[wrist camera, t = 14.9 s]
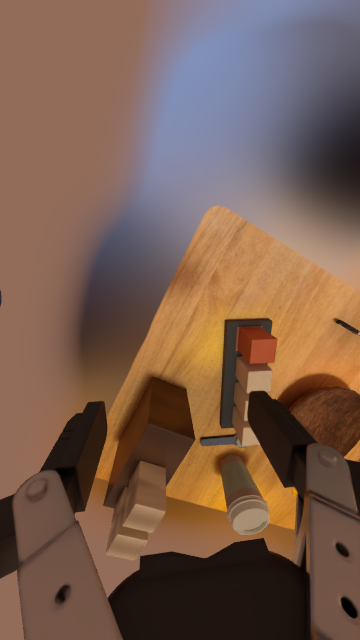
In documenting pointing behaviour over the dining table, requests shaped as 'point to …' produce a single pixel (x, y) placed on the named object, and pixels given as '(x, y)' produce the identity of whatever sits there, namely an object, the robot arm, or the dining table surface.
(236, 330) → the far board
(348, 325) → the knife
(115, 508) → the stand
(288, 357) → the dining table surface
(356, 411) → the bowl
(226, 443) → the wristwatch
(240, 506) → the coffee cup
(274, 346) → the red-brown rectangular block
